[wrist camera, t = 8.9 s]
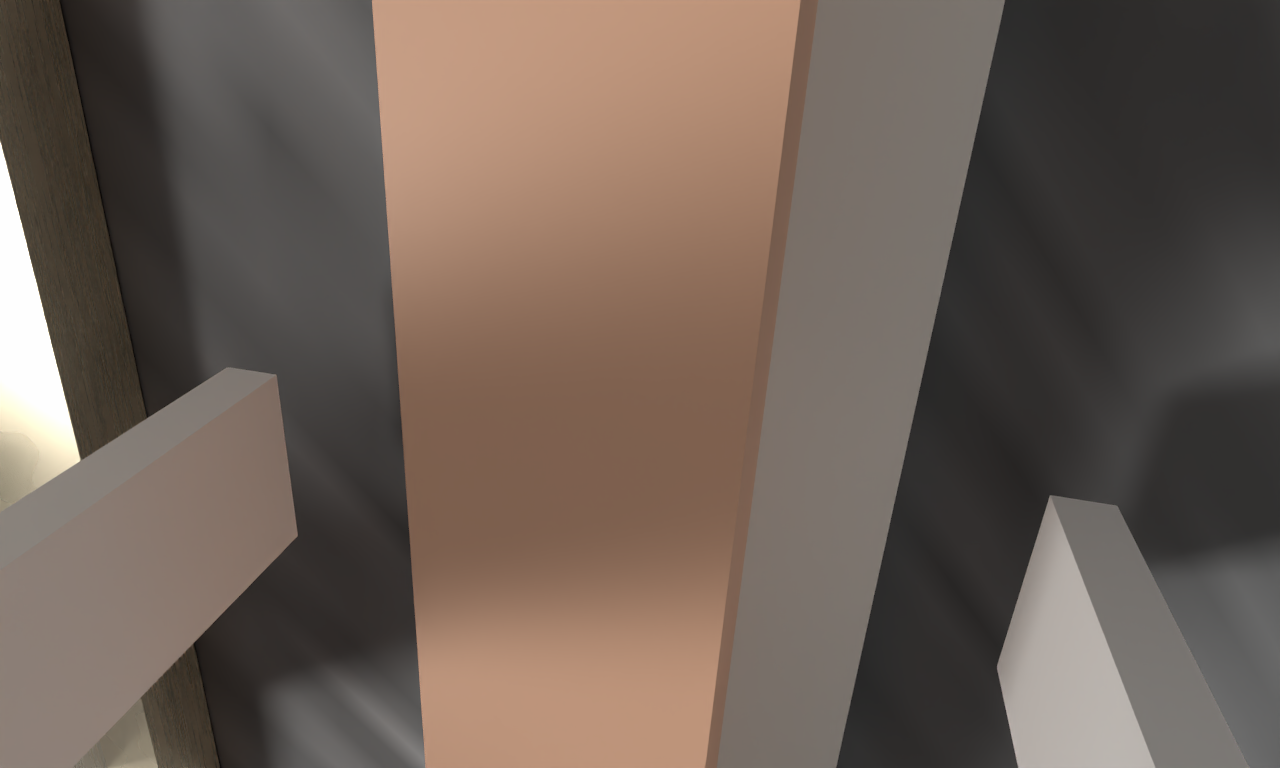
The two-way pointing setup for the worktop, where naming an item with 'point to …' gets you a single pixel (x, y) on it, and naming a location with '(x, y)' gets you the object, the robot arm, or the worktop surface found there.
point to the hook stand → (70, 339)
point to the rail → (584, 357)
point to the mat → (849, 355)
